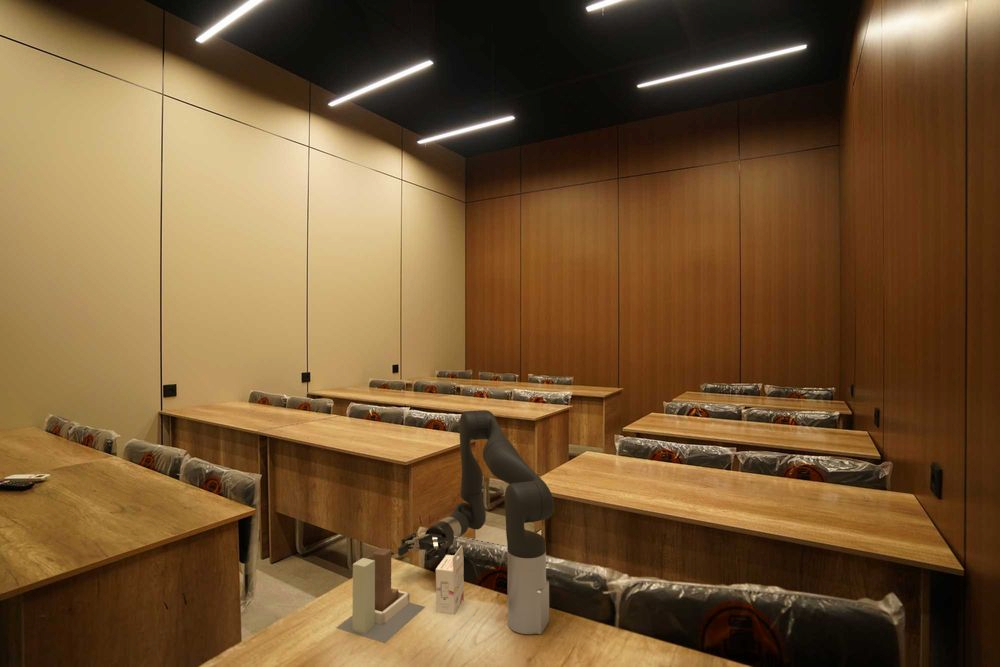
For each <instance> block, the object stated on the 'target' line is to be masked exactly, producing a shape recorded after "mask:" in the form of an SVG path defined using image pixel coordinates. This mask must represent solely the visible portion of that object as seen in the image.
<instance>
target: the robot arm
mask: <svg viewBox="0 0 1000 667" xmlns="http://www.w3.org/2000/svg"><path fill="white" fill-rule="evenodd" d="M458 423H459V426H458V428H459V445H460V447H459V448H460V462H461V463H460V464H461V482H460V498H461V499H462V500H464V502H459V503H458V504H457V505H456V506H455V508H454V510H453V511H452V513H451V514H449V516H446V517H445V518H442V519H440V520H439V521H438V522H436V523H434V524H432V525H431V526H429V527H428V528H427V530H426V531H425V533H424V534H423V535H420V536H417V533H416V532H413V533H411V534H409V535H408V536H406V537H403V538H402V539H401V540H400V541H401V546H398V548H397V555H398V556H399V557H402V556H404V555H405V554H407V553H408V552H410V551H414V552H419V551H426V552H425V553H424V562H426V563H428V562H430V561H431V560H433V559H434V558H439V556H440V557H441V558H442V559H444V557H445V556H446V555H450V553H451V552H453V551H454V543H455V542H456V541H457V540H458V539H459V538H461V537H462V536H463V535H464V534H465V533H467V531H468V529H471V530H472V529H473V530H480V529H482V528H483V527H484V525H485V522H486V519H487V518H486V517H487V516H486V515H487V513H486V508H485V507H486V506H485V503H484V502H485V501H484V498H483V484H484V474H483V470H482V468H481V466H480V464H479V462H478V460H477V459H476V457H475V455H474V454H473V451H472V448H471V447H472V446H471V444H472V443H471V441H479V440H486V442H485V444H484V445H483V450H482V457H483V460H484V463H485V465H486V466H487V469H488V470H489V471H490V473H491V474H492V475H493V476H494V478H497V479H498V480H501V481H502V482H504V483H506V484H508V485H507V486H506V489H505V493H504V512H505V515H504V516H505V536H506V544H507V545H506V546H507V549H506V550H507V554H506V555H507V557H506V558H507V625H508V627H509V628H510V629H511V630H512V631H514V632H515V633H517V634H522V635H534V634H535V635H536V634H537V635H542V634H543V632H544V630H545V629H546V627H547V626H548V624H549V623H550V581H549V580H547V544H546V539H545V537H544V536H543V535H542V534H540V533H538V532H536V531H531V530H529V529H525V524H526V523H533V522H541V521H544V520H547V519H549V518H550V517H552V515H553V513H554V510H555V502H554V497H553V495H552V492H551V489H550V488H549V487H548V485H547V484H546V482H545V481H544V479H542V478H541V477H540V476H539V475H538V474H537V473H536V472H535V471H534V470H533V469H532V468H531V467H530V466H529V465H528V464H527V462H526V461H525V460H524V459H523V457H522V456H521V455H520V453H519V452H518V450H517V449H516V448H515V446H514V445H513V444H512V443H511V441H510V440H509V439H508V437H507V436H506V435H505V433H504V432H503V430H502V428H501V426H500V424H499V423H498V420H497V419H496V417H495V414H493V413H492V412H491V411H490V410H485V409H479V410H467V411H463V412H462V413H461V414H460V418H459V422H458ZM454 536H457V537H454ZM458 537H459V538H458Z"/></svg>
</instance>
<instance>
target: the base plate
mask: <svg viewBox="0 0 1000 667" xmlns="http://www.w3.org/2000/svg"><path fill="white" fill-rule="evenodd" d="M397 590H398V600H397V601H395V602H394V603H393V604H392V605H390V606H389V607H388V608H386V609H385V610H384V611H383V612H381V611H377V610H375V626H374V627H373V628H372V629H370V630H369V631H368V632H367V633H365V634H363V633H359V632H356V631H353V615H351V616H350V617H348V618H347V619H345V620H344V621H343V622H342V623H340V624H338V626H336V627H335V629H338V630H342V631H344V632H347V633H351V634H354V635H357V636H361V637H363V638H366V639H370V640H374V641H377V642H379V643H383V644H386V643H387V642H388V641H389V640H390V639H392V638H393V637H394V635H396V634H397V633H398V632H399V631H401V630H402V629H403V628H404V626H405V627H406V625H407V624H408V623H410V621H411V620H413V619H414V618H415V617H416V616H417V615H418V614H419V613H420V612H422V611H423V610H424V609H425V608H426V606H424V605H420V604H418V603H413V602H410V600H411V599H410V596H411V595H410V594H411V593H410V592H406V591H402V590H399V589H397Z"/></svg>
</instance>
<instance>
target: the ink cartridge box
mask: <svg viewBox="0 0 1000 667" xmlns="http://www.w3.org/2000/svg"><path fill="white" fill-rule="evenodd" d="M463 549H464V548H463V545H462V544H461V545H460V547H459V548H458V549H457V551H456V552H455V554H454V555H453V554H452V555H451V554H448V555H446V556H445V557H443V558H442V560H441V561H440V562H439V564H438V565H437V567H436V568H435V595H436V596H435V598H436V599H435V605H436V607H435V608H436V613H439V614H447V615H455V614H456V612H457V610H458V609H459V607H460V605H461V602H462V601H464V598H465V593H464V590H465V589H464V588H465V584H464V582H465V581H464V579H465V578H464V577H465V574H464V572H465V571H464V565H465V563H464V562H465V561H464V550H463Z"/></svg>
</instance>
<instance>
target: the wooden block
mask: <svg viewBox="0 0 1000 667" xmlns="http://www.w3.org/2000/svg"><path fill="white" fill-rule="evenodd" d="M372 560H375V610H377V611H381V612H383V611H384V610H385V609H386V608H388V607H389V606H390V605H392V604H393V603H394V602H395V601H397V600H398V590H399V589H396V588H392V549H391V548H390V549H389V548H383V547H380V548H378V549H377V550H375V551H373V554H372Z"/></svg>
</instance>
